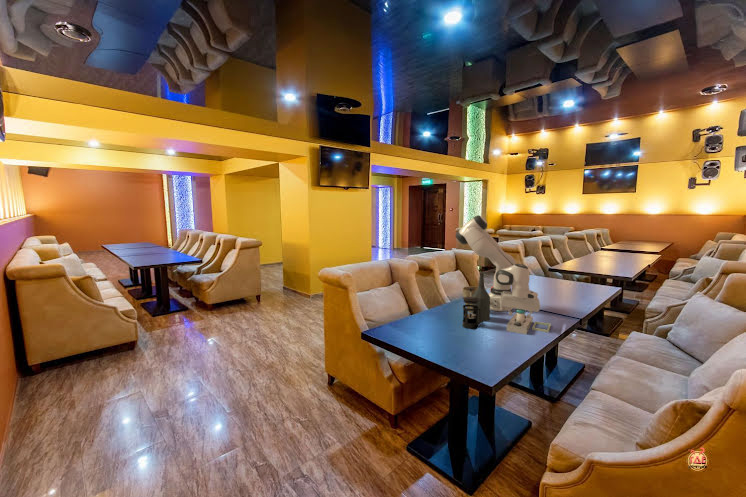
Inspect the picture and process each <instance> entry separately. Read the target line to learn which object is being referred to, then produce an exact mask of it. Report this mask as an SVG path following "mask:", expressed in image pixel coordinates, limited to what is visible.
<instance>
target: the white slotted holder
mask: <svg viewBox="0 0 746 497" xmlns="http://www.w3.org/2000/svg"><path fill="white" fill-rule="evenodd" d="M513 314H514V315H512V316H511V318H510V319H509V321H508V323H507V324H506V332H511V333H516V334H522V335H527V334H528V333H529V330H530V329H531V328H532V326H533V325H532V324H534V320H533V318H534V317H533V316H531V315H530V318H527V314H525V323H523V322H520V323H521V325H520V326H517V325H515V322H516V313H513Z"/></svg>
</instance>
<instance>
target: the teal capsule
mask: <svg viewBox="0 0 746 497" xmlns="http://www.w3.org/2000/svg"><path fill="white" fill-rule="evenodd" d="M515 312H516V313H515V314H516V322H523V323H525V315H526V310H521V309H515Z"/></svg>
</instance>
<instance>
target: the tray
mask: <svg viewBox="0 0 746 497" xmlns="http://www.w3.org/2000/svg"><path fill="white" fill-rule="evenodd" d="M536 325H541V326H548V327H547V329H545V328H538V327H536ZM551 326H552V325H551V323H549V322H540V321H534V322H533V325H532V326H531V330H532V331H537V332H538V331H539V332H542V333H543V332H544V333H549V332H550V328H551Z"/></svg>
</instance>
